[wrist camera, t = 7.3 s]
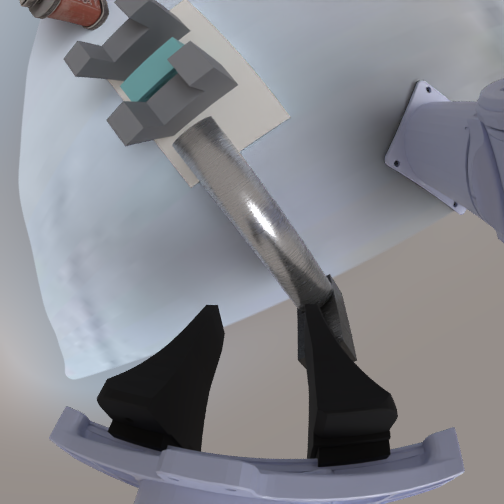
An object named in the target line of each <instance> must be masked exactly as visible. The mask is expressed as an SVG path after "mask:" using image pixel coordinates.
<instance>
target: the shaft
mask: <svg viewBox="0 0 504 504" xmlns="http://www.w3.org/2000/svg"><path fill="white" fill-rule="evenodd" d="M172 146H173V148H174V149H175V150H176V152H177V153H178V154H179V155H180V157H181V158H182V159H183V161H184V162H185V163H186V164H187V166H188V167H189V168H190V170H191V171H192V172H193V174H194V175H195V176H196V177H197V179H198V180H199V181H200V183H201V184H202V185H203V186H204V188H205V189H206V190H207V192H208V193H209V194H210V195H211V197H212V198H213V199H214V201H215V202H216V203H217V204H218V206H219V207H220V208H221V210H222V211H223V212H224V213H225V215H226V216H227V217H228V219H229V220H230V221H231V223H232V224H233V225H234V226H235V228H236V229H237V230H238V232H239V233H240V234H241V235H242V237H243V238H244V239H245V241H246V242H247V243H248V244H249V246H250V247H251V248H252V250H253V251H254V252H255V254H256V255H257V256H258V257H259V259H260V260H261V261H262V263H263V264H264V265H265V266H266V268H267V269H268V270H269V272H270V273H271V274H272V276H273V277H274V278H275V279H276V281H277V282H278V283H279V285H280V286H281V287H282V288H283V290H284V291H285V292H286V294H287V295H288V296H289V298H290V299H291V300H292V301H293V302H294V304H295V305H296V307H297V315H298V361H299V362H300V363H301V364H302V365H303V366H304V367H305V368H306V360H305V348H304V321H305V304H318V305H319V306H320V309H321V312H322V314H323V317H324V319H325V321H326V323H327V324H328V326H329V328H330V330H331V331H332V333H333V335H334V336H335V338H336V340H337V341H338V342H339V344H340V345H341V347H342V348H343V350H344V351H345V352H346V353H347V355H348V356H349V357H350V358H351V359H352V361H353V362H354V361H357V358H356V354H355V349H354V344H353V339H352V334H351V330H350V325H349V321H348V317H347V313H346V309H345V305H344V301H343V297H342V293H341V292H340V290H339V288H338V287H337V285H336V283H335V282H334V280H333V279H332V277H331V275H330V274H329V275H327V276H326V275H325V274H324V272H323V271H322V269H321V268H320V266H319V265H318V263H317V262H316V260H315V259H314V257H313V256H312V254H311V252H310V251H309V250H308V248H307V247H306V245H305V244H304V242H303V241H302V239H301V238H300V236H299V235H298V233H297V232H296V230H295V229H294V227H293V226H292V224H291V223H290V222H289V220H288V219H287V217H286V216H285V214H284V213H283V211H282V210H281V209H280V207H279V206H278V204H277V203H276V202H275V200H274V199H273V197H272V196H271V195H270V193H269V192H268V190H267V189H266V188H265V186H264V185H263V183H262V182H261V181H260V179H259V178H258V177H257V175H256V174H255V172H254V171H253V170H252V168H251V167H250V166H249V164H248V163H247V162H246V160H245V159H244V158H243V156H242V155H241V154H240V152H239V151H238V150H237V148H236V147H235V146H234V144H233V143H232V142H231V140H230V139H229V138H228V137H227V135H226V134H225V133H224V131H223V130H222V129H221V128H220V126H219V125H218V124H217V122H216V121H215V120H214V119H213V117H212V116H209V117H207V118H204V119H202V120H201V121H199V122H197V123H196V124H194V125H193V126H191V127H190V128H189V129H187V130H186V131H185V132H184V133H183V134H181V135H180V136H179V137H178V138H177V139H176V140H175V142H174V143H173V145H172ZM306 369H307V368H306Z"/></svg>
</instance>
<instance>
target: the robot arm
mask: <svg viewBox="0 0 504 504" xmlns="http://www.w3.org/2000/svg"><path fill="white" fill-rule="evenodd" d="M426 87H428V89H429V93H428V92H427V91H426ZM396 160H397V161H398V165H397V166H394V162H395V161H396ZM385 163H386V164H387V165H388V166H389V167H391V168H393V169H394V170H396V171H398V172H399V173H401V174H402V175H404V176H406V177H407V178H409V179H410V180H412V181H413V182H415V183H416V184H418V185H419V186H421V187H422V188H424V189H425V190H427V191H428V192H430V193H431V194H433V195H434V196H435V197H437V198H438V199H440V200H441V201H442V202H444V203H445V204H447V205H448V206H449V207H451V208H452V209H453V210H454V211H456V212H457V213H459V214H460V215H462V214H464V212H465V211H466V209H468V210H469V211H471V212H472V213H474V214H475V215H477V216H478V217H479V218H481V219H482V220H484V221H485V222H486V223H488V224H489V225H490V226H492V227H493V228H494V229H495V230H496V232H497V236H498V239H500V240H501V241H502V242H503V243H504V78H503V79H500V80H498V81H495V82H493V83H491V84H489V85H488V86H486V87H485V88H484V89H483V90H482V91H481V93H480V96H479V99H478V100H477V102H470V101H450V100H449V99H448V98H447V97H445V96H444V95H443V94H441V93H440V92H439V91H438V90H436V89H435V88H434V87H432V86H431V85H430V84H428V83H427V82H426V81H424V80H420V81H418V82H417V84H416V86H415V89H414V92H413V94H412V97H411V99H410V102H409V104H408V106H407V109H406V111H405V114H404V116H403V118H402V121H401V123H400V125H399V127H398V130H397V132H396V134H395V136H394V139H393V141H392V143H391V145H390V147H389V150H388V152H387V154H386V156H385ZM454 202H456V203H455V205H454V206H453V204H454ZM224 334H225V333H224V329H223V325H222V321H221V317H220V313H219V308H218V305H206V306H205V307H204V308H203V309H202V310H201V311H200V313H199V314H198V315H197V316H196V317H195V318H194V319H193V320H192V321H191V322H190V323H189V324H188V326H187V327H186V328H185V329H184V330H183V331H182V332H181V333H180V334H179V335H178V336H177V337H175V338H174V339H173V340H172V341H171V342H170V343H169V344H168V345H167V346H165V347H164V348H163V349H162V350H160V351H159V352H158V353H156V354H155V355H153V356H152V357H150V358H149V359H147V360H146V361H144V362H143V363H141V364H139V365H137V366H136V367H134V368H132V369H130V370H128V371H126V372H124V373H121V374H119V375H116V376H114V377H111V378H109V379H107V380H106V383H105V384H104V386H103V388H102V390H101V391H100V393H99V395H98V397H97V401H98V404H99V405H100V407H101V408H102V409H103V410H104V411H105V412H106V413H107V414H108V416H109V417H110V418H111V419H112V420H113V421H112V423H111V425H110V427H109V428H108V427H105V426H102V425H100V424H97V423H95V422H92V421H90V420H89V419H88V417H87V416H85V415H84V414H83V413H81V412H80V411H77V410H75V409H73V408H71V407H68V406H66V408H65V409H64V411H63V413H62V414H61V417H60V418H59V420H58V422H57V424H56V425H55V428H54V429H53V431H52V433H51V435H50V437H49V439H50V440H51V441H52V442H53V443H55V444H56V445H57V446H58V447H60V448H61V449H62V450H64V451H65V452H67V453H68V454H69V455H71V456H72V457H74V458H75V459H77V460H79V461H81V462H83V463H84V464H86V465H88V466H90V467H92V468H94V469H96V470H98V471H101V472H103V473H105V474H107V475H109V476H111V477H113V478H116V479H118V480H120V481H123V482H125V483H127V484H130V485H132V486H135V487H137V488H139V489H138V492H137V495H136V498H135V501H134V504H385V503H389V502H393V501H397V500H401V499H404V498H407V497H411V496H414V495H418V494H421V493H424V492H427V491H430V490H433V489H435V488H438V487H440V486H442V485H444V484H446V483H447V482H449V481H451V480H453V479H454V478H456V477H457V476H459V475H461V474H462V473H464V471H465V470H464V465H463V460H462V455H461V451H460V447H459V442H458V439H457V434H456V431H455V428H454V427H452V428H449V429H446V430H443V431H440V432H436V433H434V434H431V435H429V436H428V437H427V438H426V439H425V440H424V441H423V442H421V443H417V444H413V445H409V446H405V447H400V448H395V449H391V450H390V445H389V439H390V431H389V430H390V428H391V427H392V425H393V424H394V423H395V421H396V419H397V417H398V415H397V409H396V406H395V403H394V400H393V398H392V397H391V394H390V393H389V392H387V391H386V390H384V389H383V388H382V387H380V386H379V385H378V384H376V383H375V382H374V381H373V380H372V379H370V378H369V377H368V376H367V375H366V374H365V373H364V372H363V371H362V370H361V369H360V368H359V367H358V366H357V365H356V364H355V363H354V362H353V361H352V359H351V358H350V357H349V356H348V355H347V353H346V352H345V351H344V350H343V348H342V347H341V345H340V344H339V342H338V341H337V340H336V338H335V336H334V335H333V333H332V331H331V330H330V328H329V326H328V324H327V323H326V321H325V319H324V317H323V314H322V312H321V309H320V306H319V305H318V304H305V321H304V348H305V360H306V368H307V377H308V385H309V428H308V453H307V459H264V458H248V457H237V456H227V455H219V454H213V453H206V452H201V444H202V434H203V427H204V419H205V413H206V406H207V401H208V396H209V391H210V387H211V384H212V381H213V377H214V374H215V371H216V368H217V365H218V361H219V358H220V355H221V352H222V347H223V341H224Z"/></svg>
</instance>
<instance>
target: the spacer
mask: <svg viewBox="0 0 504 504" xmlns="http://www.w3.org/2000/svg"><path fill="white" fill-rule="evenodd" d="M182 46H184V44H183V43H181V42H180V41H178V40H176V39H175V38H173V37H172V38H170V39H169V40H168V41H167V42H166V43H164V44H163V45H162V46H161V47H160V48H159V49H157V50H156V51H155V52H154V53H153V54H152V55H151V56H150V57H149V58H147V59H146V60H145V61H144V62H143V63H142V64H141V65H140V66H139V67H138V68H137V69H136V70H135V71H134V72H133V73H132V74H131V75H130V76H129V77H128V78H127V79H126V80H125V81H124V82H123V83H122V84H121V85H120V87H121V89H122V90H123V91H124V92H125V94H126V95H127V96H128V98H129V99H130V100H131V101H133V102H147V101H148V100H149V99H150V98H151V97H152V96H153V95H154V94H155V93H156V92H157V91H158V90H159V89H160V88H161V87H163V86H164V85H165V84H166V83H167V82H168V81H169V80H170V79H172V78H173V77H174V76H175V75H176V74H177V73H178V72H177V71H176V70H175V68H174V67H173V66H172V65H171V64H170V63H169V61H168V60H167V59H168V58H169V57H170V56H172V55H173V54H174V53H175V52H176V51H178V50H179V49H180V48H181V47H182Z"/></svg>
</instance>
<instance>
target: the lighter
mask: <svg viewBox="0 0 504 504" xmlns="http://www.w3.org/2000/svg"><path fill="white" fill-rule="evenodd" d="M20 4H21V6H24V7H28V8H29V10H30V12H31V13H32V15H33V16H34V17H35V18H40V19H44V18H46V17H48V18H53V19H58V20H62V21H67V22H71V23H75V24H79V25H82V26H83V27H84V28H86V29H89V30H94V29H97V28H98V27H100V26H101V25H102V24H103V23H104V22H105V21H106V19H107V17H108V15H109V10H108V5H107V1H106V0H20Z"/></svg>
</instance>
